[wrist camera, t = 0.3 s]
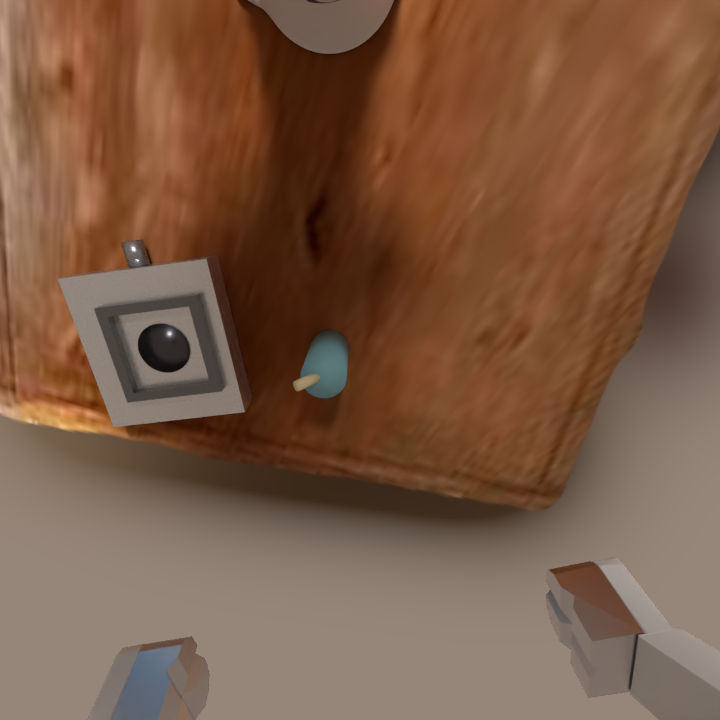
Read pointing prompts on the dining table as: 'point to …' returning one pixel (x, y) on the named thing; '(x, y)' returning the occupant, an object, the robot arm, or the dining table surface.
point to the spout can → (325, 365)
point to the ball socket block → (159, 338)
